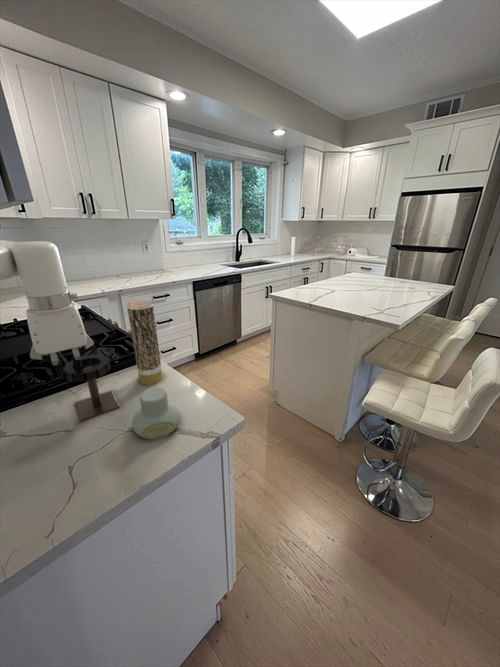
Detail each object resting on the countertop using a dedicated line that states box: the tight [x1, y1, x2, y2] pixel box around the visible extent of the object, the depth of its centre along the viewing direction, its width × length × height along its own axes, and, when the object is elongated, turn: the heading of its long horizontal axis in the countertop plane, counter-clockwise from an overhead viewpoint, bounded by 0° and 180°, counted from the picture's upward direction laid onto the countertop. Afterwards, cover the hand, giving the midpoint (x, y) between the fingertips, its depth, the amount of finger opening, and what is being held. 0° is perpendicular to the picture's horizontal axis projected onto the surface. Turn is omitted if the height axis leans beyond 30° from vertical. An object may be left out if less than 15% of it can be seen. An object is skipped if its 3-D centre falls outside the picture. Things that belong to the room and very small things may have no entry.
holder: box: [75, 365, 121, 423], centre depth 71 cm, size 9×9×12 cm
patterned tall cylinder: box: [126, 300, 163, 385], centre depth 82 cm, size 7×7×25 cm
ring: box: [63, 354, 112, 383], centre depth 69 cm, size 10×10×2 cm
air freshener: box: [131, 387, 181, 440], centre depth 65 cm, size 11×8×10 cm
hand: (70, 374), depth 67 cm, fingers closed on ring, 2 cm apart
